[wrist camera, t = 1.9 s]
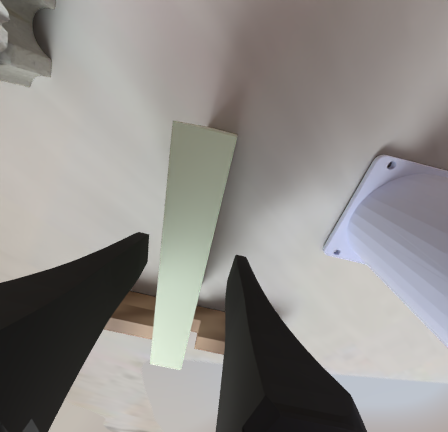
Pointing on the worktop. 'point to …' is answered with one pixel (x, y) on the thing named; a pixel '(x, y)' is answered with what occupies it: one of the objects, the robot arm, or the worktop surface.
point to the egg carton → (21, 42)
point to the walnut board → (144, 321)
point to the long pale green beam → (187, 232)
